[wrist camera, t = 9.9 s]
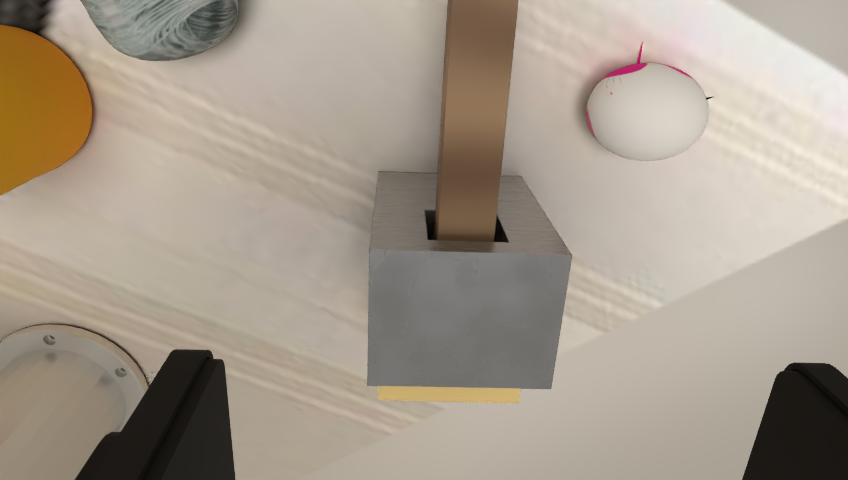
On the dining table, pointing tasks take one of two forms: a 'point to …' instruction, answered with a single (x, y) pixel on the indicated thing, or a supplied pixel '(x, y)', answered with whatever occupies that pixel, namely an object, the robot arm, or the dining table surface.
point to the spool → (163, 25)
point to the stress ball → (647, 111)
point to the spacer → (449, 394)
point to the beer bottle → (38, 107)
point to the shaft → (473, 117)
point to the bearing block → (463, 292)
